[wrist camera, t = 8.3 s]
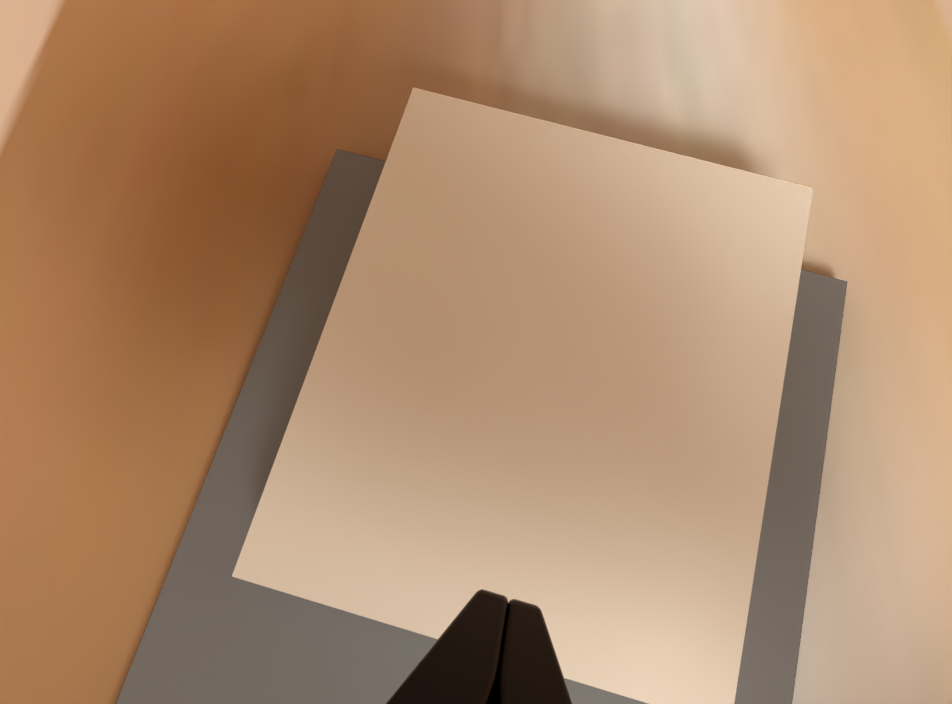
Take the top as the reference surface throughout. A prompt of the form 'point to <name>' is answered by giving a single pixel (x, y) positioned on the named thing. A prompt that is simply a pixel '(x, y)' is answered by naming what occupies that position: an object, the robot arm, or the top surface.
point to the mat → (389, 647)
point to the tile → (546, 398)
